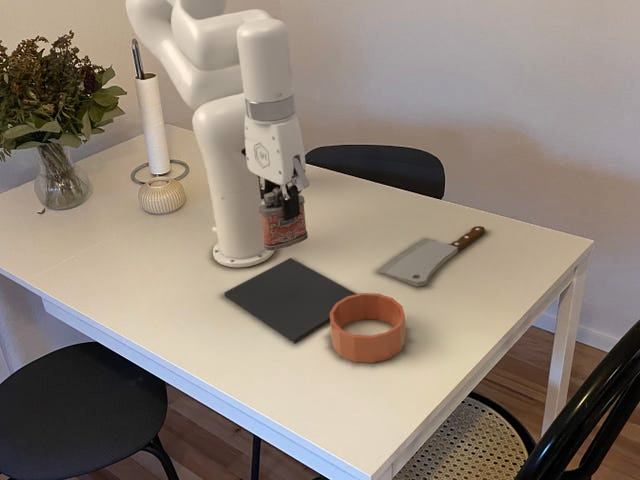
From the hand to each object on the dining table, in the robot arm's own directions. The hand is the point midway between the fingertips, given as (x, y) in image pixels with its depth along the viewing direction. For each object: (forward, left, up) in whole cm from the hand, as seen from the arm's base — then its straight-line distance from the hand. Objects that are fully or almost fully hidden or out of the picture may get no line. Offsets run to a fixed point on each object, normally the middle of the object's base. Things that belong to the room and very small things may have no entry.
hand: (282, 212), depth 111 cm
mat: (0, 0, -18) cm, 18 cm away
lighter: (0, 0, -6) cm, 6 cm away
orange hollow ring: (+18, +1, -18) cm, 25 cm away
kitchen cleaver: (+9, +29, -18) cm, 35 cm away
